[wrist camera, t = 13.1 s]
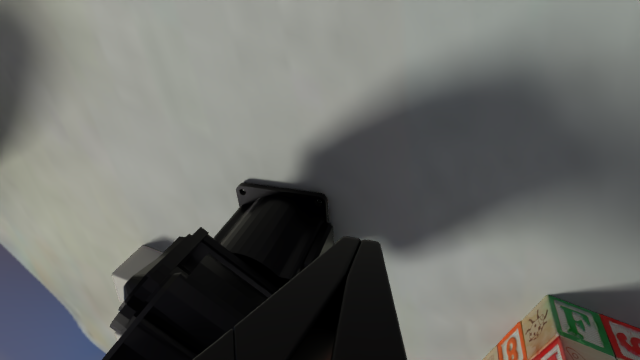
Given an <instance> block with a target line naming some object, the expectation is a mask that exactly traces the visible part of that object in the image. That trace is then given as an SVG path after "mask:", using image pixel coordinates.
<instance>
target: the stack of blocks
mask: <svg viewBox="0 0 640 360" xmlns="http://www.w3.org/2000/svg"><path fill="white" fill-rule="evenodd" d="M483 360H640V329H639V328H636V327H634V326H631V325H628V324H626V323H623V322H620V321H618V320H615V319H612V318H610V317H607V316H604V315H602V314H597V313H595V312H592V311H589V310H587V309H584V308H582V307H579V306H576V305H574V304H571V303H568V302H566V301H563V300H561V299H558V298H555V297H553V296H550V295H546V296H545V297H544V298H543V299H542V300H541V301H540V302H539V303H538V304H537V305H536V307H535V308H534V309H533V310H532V311H531V312H530V313H529V314H528V315H527V316H526V317H525V318H524V319H523V320H522V321H520V322H518V323H517V324H516V325H515V326H514V327H513V329H512V330H511V331H510V332H509V333H508V334H507V335H506V336H505V337H504V338H503V339H502V340H501V341H500V342H499V343H498V345H497V346H495V347H494V348H493V349H492V350H491V351H490V352H489V353H488V354H487V355H486V357H485V358H484V359H483Z"/></svg>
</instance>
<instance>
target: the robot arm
mask: <svg viewBox="0 0 640 360" xmlns="http://www.w3.org/2000/svg"><path fill="white" fill-rule="evenodd" d="M243 189H244V190H245V191H246V192H244V191H243ZM236 192H237V197H238V202H239V206H240V208H239V209H238V210H237V211H236V212H235V214H234V215H233V216H232V217H231V218H230V219H229V221H228V222H227V223H226V224H225V225H224V226H223V228H222V229H221V230H220V231H219V232H218V233H217V235H216V236H215V237H214V238H212V237H211V236H209V235H208V232H207V231H206V230H204V229H203V228H202V227H200V228H199V229H198V230H197V231H196V232H195V233H194V234H193V235H190V234H189V235H187V236H186V237H178V238H177V240H176V241H175V242H174V243H173V244H172V245H171V246H170V247H169V248H168V249H167V250H166V251H165V252H164V253H163V254H161V255H160V256H159V257H158V258H157V259H155V260H154V261H153V262H151V263H150V264H148V265H147V266H146V267H144V268H143V269H142V270H140V271H139V272H137V273H136V274H135V275H133V276H132V277H131V278H130V279H129V280H128V281H127V282H126V284H125V285H124V302H123V303H122V304H121V306H120V307H119V311H120V312H119V313H118V314H117V316H116V317H115V318H114V320H113V321H112V323H111V325H110V327H111V328H112V329H113V330H115V331H116V332H118V333H119V334H122V336H121V337H120V338H119V340H118V341H117V342H116V343H115V344H114V346H113V347H112V348H111V349H110V350H109V352H108V353H107V354H106V355H105V357H104V358H103V359H102V360H407V357H406V352H405V348H404V344H403V340H402V335H401V331H400V327H399V322H398V318H397V314H396V310H395V305H394V301H393V297H392V292H391V288H390V284H389V280H388V275H387V271H386V267H385V262H384V258H383V254H382V250H381V245H380V243H379V242H377V241H372V240H366V239H364V240H362V241H361V240H360V239H359V238H354V237H348V236H344V237H342V238H341V239H340V240H339V241H337V242H336V243H335V244H334V241H333V226H332V225H331V223H329V219H328V200H327V197H326V196H325V195H324V194H322V193H316V192H309V191H301V190H294V189H286V188H279V187H271V186H264V185H256V184H249V183H241V184H240V185H239V186H238V187H237V188H236ZM317 200H320V201H321V203H320V202H318V201H317Z"/></svg>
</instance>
